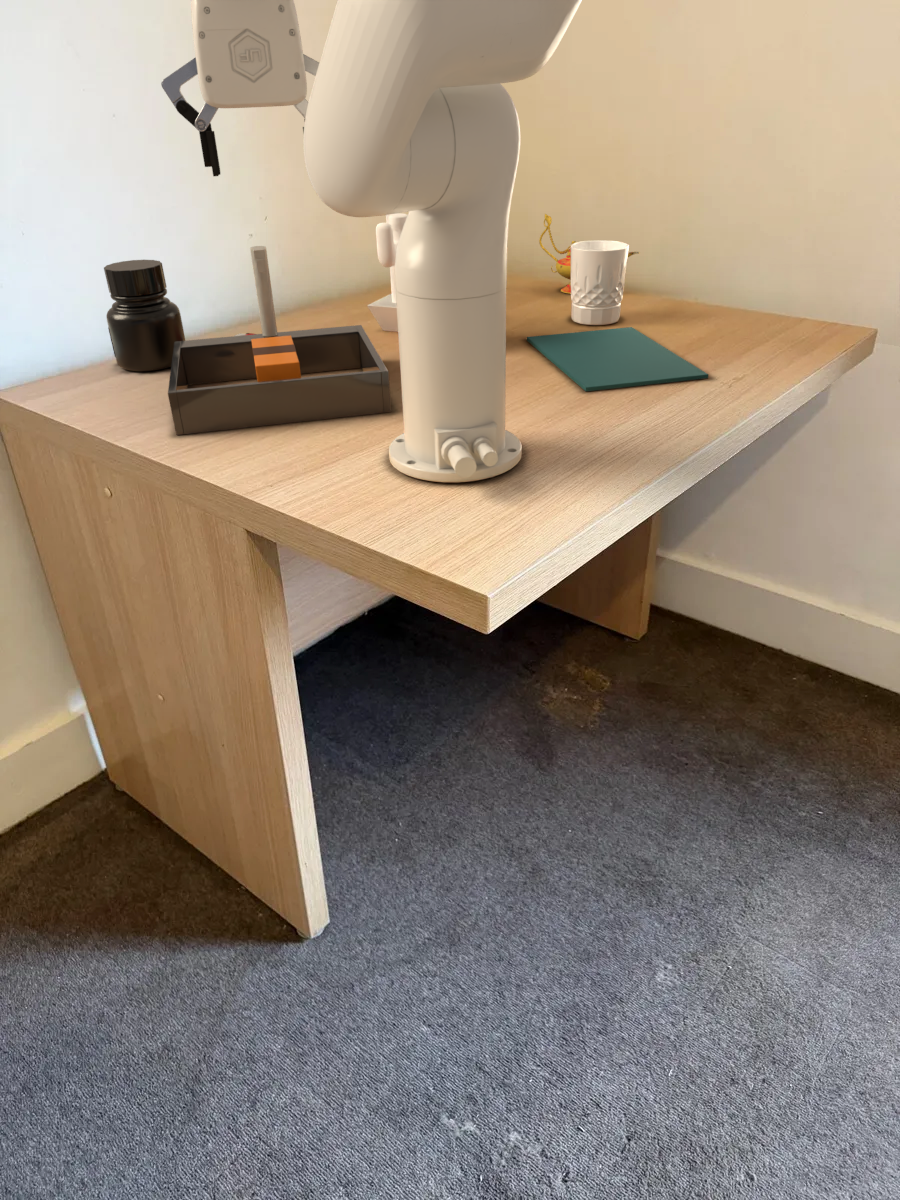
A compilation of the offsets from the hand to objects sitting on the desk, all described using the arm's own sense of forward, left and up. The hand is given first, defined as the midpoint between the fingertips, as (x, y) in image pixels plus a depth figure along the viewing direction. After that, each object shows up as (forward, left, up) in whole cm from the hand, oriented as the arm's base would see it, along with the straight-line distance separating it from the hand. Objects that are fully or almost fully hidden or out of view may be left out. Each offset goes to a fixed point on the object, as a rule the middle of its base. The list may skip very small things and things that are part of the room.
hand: (264, 172), depth 89 cm
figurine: (+23, -17, -23) cm, 37 cm away
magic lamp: (+35, -49, -23) cm, 65 cm away
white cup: (+18, -44, -23) cm, 53 cm away
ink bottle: (+17, +17, -23) cm, 33 cm away
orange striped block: (-2, +2, -23) cm, 23 cm away
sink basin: (-1, +2, -23) cm, 23 cm away
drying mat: (0, -39, -23) cm, 46 cm away
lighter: (+20, +3, -23) cm, 30 cm away
